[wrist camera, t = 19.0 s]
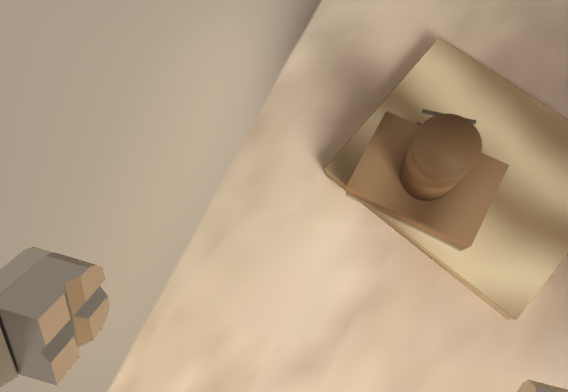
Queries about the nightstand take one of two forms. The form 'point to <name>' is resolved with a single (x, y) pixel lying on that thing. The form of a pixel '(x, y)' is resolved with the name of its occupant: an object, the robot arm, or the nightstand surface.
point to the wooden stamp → (429, 176)
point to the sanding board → (513, 189)
